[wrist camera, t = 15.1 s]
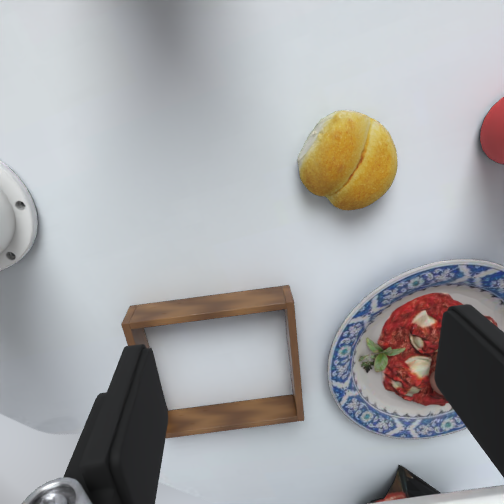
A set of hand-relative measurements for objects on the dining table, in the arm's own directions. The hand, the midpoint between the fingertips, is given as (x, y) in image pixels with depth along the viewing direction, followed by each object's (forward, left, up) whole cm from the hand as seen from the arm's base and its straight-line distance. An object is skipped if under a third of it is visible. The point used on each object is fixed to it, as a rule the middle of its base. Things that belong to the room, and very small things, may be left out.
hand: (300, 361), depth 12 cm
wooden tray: (-6, -20, -26) cm, 33 cm away
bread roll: (+9, +1, -26) cm, 27 cm away
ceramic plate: (+19, -23, -26) cm, 39 cm away
